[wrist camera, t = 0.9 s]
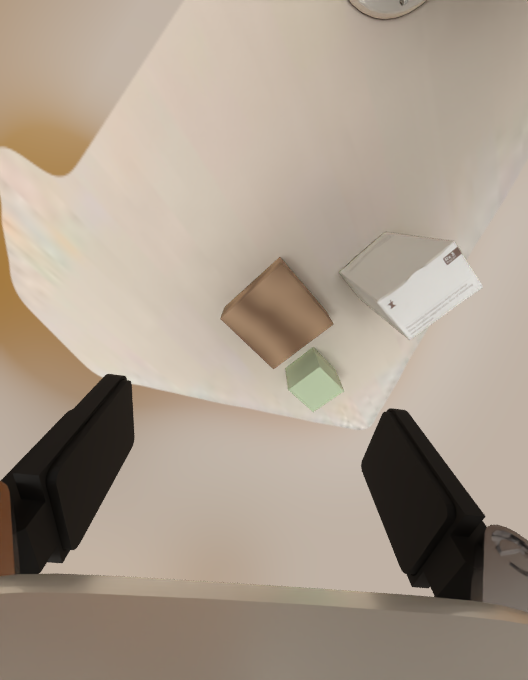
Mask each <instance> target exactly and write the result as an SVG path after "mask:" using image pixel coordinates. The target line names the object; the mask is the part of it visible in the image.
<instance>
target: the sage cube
mask: <svg viewBox="0 0 528 680" xmlns="http://www.w3.org/2000/svg"><path fill="white" fill-rule="evenodd" d="M285 369H286V377H287V385H288V390H289V391H290V392H291V393H292V394H293V395H294V396H296V397H297V398H298V399H299V400H300V401H301V402H302V403H303V404H305V405H306V406H307V407H308V408H309V409H310V410H311V411H312V412H314V411H316V410H317V409H319V408H320V407H322V406H323V405H325V404H326V403H328V402H329V401H330V400H332V399H333V398H335V397H336V396H338V395H339V394H341V393H342V392H344V389H343V387H342V385H341V382H340V380H339V378H338V375H337V373H336V371H335V369H334V368H333V367H332V366H331V365H330V364H329V363H328V362H327V361H326V360H325V359H324V358H323V357H322V356H321V355H320V354H319V353H318V352H317V351H316V350H315V349H314V348H311V349H310V350H309V351H307V352H306V353H305V354H303V355H302V356H301V357H300V358H298V359H297V360H296V361H294V362H293V363H292V364H290V365H289V366H288V367H287V368H285Z"/></svg>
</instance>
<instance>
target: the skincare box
mask: <svg viewBox="0 0 528 680" xmlns="http://www.w3.org/2000/svg"><path fill="white" fill-rule="evenodd" d="M339 273H340V275H341V276H342V277H343V279H344V280H345V281H346V282H347V283H348V285H349V286H350V287H351V288H352V290H353V291H354V292H355V293H356V294H357V296H358V297H359V298H360V299H361V300H362V301H363V302H364V303H365V304H366V305H368V306H369V307H370V308H371V309H372V310H374V311H375V312H376V313H377V314H378V315H380V316H381V317H382V318H383V319H384V320H386V321H387V322H388V323H389V324H390V325H392V326H393V327H394V328H395V329H396V330H398V331H399V332H400V333H401V334H402V335H404V336H405V337H406V338H408V339H409V340H411V339H412V338H413V337H415V336H416V335H418V334H419V333H420V332H422V331H423V330H424V329H426V328H427V327H428V326H430V325H431V324H433V323H434V322H435V321H437V320H438V319H439V318H441V317H442V316H444V315H445V314H446V313H448V312H449V311H451V310H452V309H453V308H455V307H456V306H457V305H459V304H460V303H462V302H463V301H464V300H466V299H467V298H469V297H470V296H471V295H473V294H474V293H475V292H477V291H478V290H480V289H481V288H482V287H483V286H482V284H481V283H480V281H479V279H478V278H477V276H476V275H475V273H474V272H473V270H472V269H471V267H470V265H469V264H468V262H467V260H466V259H465V257H464V256H463V254H462V253H461V251H460V249H459V247H458V246H457V244H456V242H455V241H450V240H442V239H434V238H426V237H419V236H412V235H404V234H396V233H389V232H385V233H383V234H382V235H381V236H380V237H379V238H377V239H376V240H375V241H374V242H373V243H372V244H371V245H369V246H368V247H367V248H366V249H365V250H364V251H362V252H361V253H360V254H359V255H358V256H357V257H356V258H354V259H353V260H352V261H351V262H350V263H349V264H348V265H347V266H346V267H345V268H343V269H342V270H341V271H340V272H339Z"/></svg>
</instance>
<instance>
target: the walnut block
mask: <svg viewBox="0 0 528 680" xmlns="http://www.w3.org/2000/svg"><path fill="white" fill-rule="evenodd" d="M220 319H221V320H222V321H223V322H224V323H225V324H226V325H227V326H229V327H230V328H231V329H232V330H233V331H234V332H235V333H236V334H237V335H238V336H239V337H240V338H241V339H242V340H243V341H244V342H245V343H246V344H247V345H249V346H250V347H251V348H252V349H253V350H254V351H255V352H256V353H257V354H258V355H259V356H260V357H261V358H262V359H263V360H264V361H265V362H266V363H267V364H268V365H270V366H271V367H272V368H273V369H274V368H276V367H277V366H278V365H280V364H281V363H282V362H284V361H285V360H286V359H288V358H289V357H290V356H292V355H293V354H294V353H296V352H297V351H298V350H300V349H301V348H302V347H304V346H305V345H306V344H308V343H309V342H310V341H312V340H313V339H314V338H316V337H317V336H318V335H320V334H321V333H322V332H324V331H325V330H327V329H328V328H329V327H331V326H332V325H333V322H332V320H331V319H330V317H329V315H328V313H327V312H326V310H325V309H324V308H323V307H322V306H321V305H320V303H319V302H318V301H317V300H316V299H315V298H314V296H313V295H312V294H311V293H310V292H309V290H308V289H307V288H306V287H305V286H304V285H303V283H302V282H301V281H300V280H299V279H298V278H297V276H296V275H295V274H294V273H293V272H292V271H291V269H290V268H289V267H288V266H287V265H286V263H285V262H284V261H283V260H282V259H281V258H280V257H279V258H278V259H277V260H276V261H275V262H274V263H273V264H272V265H270V266H269V267H268V268H267V269H266V270H265V271H264V272H263V273H262V274H261V275H259V276H258V277H257V278H256V279H255V280H254V281H253V282H252V283H251V284H250V285H248V286H247V287H246V288H245V289H244V290H243V291H242V292H241V293H240V294H239V295H237V296H236V297H235V298H234V299H233V300H232V301H231V302H230V303H229V304H228V305H226V306H225V308H224V310H223V313H222V316H221V318H220Z"/></svg>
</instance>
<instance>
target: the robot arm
mask: <svg viewBox="0 0 528 680" xmlns="http://www.w3.org/2000/svg"><path fill="white" fill-rule="evenodd" d="M349 1H350V2H351V3H352V4H353V5H354V6H355V7H356V8H357V9H359V10H360V11H361V12H362V13H365V14H367V15H369V16H371V17H375V18H382V19H388V18H396V17H399V16H402V15H404V14H407V13H409V12H411V11H413V10H414V9H416V8H417V7H419V6H420V5H422V4H423V3H424V2H425V1H426V0H349ZM400 2H401V3H402V5H401V4H400ZM133 443H134V421H133V403H132V385H131V381H128V380H127V378H126V377H125V376H121V375H113V374H107V375H105V376H104V377H103V378H102V379H101V381H99V383H98V384H97V385H96V386H95V387H94V388H93V389H92V390H91V391H90V392H89V393H88V394H87V395H86V396H85V397H84V398H83V399H82V401H81V402H80V403H79V404H78V405H77V406H76V407H75V408H74V409H72V410H70V411H68V412H67V413H66V414H65V415H64V416H63V417H62V418H61V419H60V420H59V421H58V422H57V423H56V424H55V425H54V426H53V427H52V428H51V430H49V431H48V433H46V435H45V436H44V437H43V438H42V439H41V440H40V441H39V442H38V443H37V444H36V445H35V446H34V447H33V448H32V449H31V450H30V451H29V452H28V453H27V454H26V455H25V456H24V457H23V458H22V459H21V460H20V461H19V462H18V463H17V465H15V467H14V468H13V469H12V470H11V471H10V472H9V473H8V474H7V475H6V476H5V477H4V478H3V479H2V480H1V481H0V680H528V540H526V539H525V538H524V537H522V536H520V535H519V534H518V533H516V532H515V531H513V530H511V529H508V528H507V527H503V526H500V525H490V526H488V527H486V525H485V524H484V522H483V521H482V520H483V519H484V518H485V515H484V514H483V512H482V511H481V510H480V509H479V507H478V506H477V504H476V503H475V502H474V500H473V499H472V498H471V496H470V495H469V494H468V492H467V491H466V490H465V488H464V487H463V486H462V484H461V483H460V482H459V480H458V479H457V478H456V476H455V475H454V474H453V472H452V471H451V470H450V468H449V467H448V465H447V464H446V463H445V462H444V460H443V459H442V457H441V456H440V455H439V453H438V452H437V451H436V449H435V448H434V447H433V445H432V444H431V443H430V441H429V440H428V439H427V437H426V436H425V434H424V433H423V432H422V430H421V429H420V428H419V426H418V425H417V424H416V422H415V421H414V420H413V418H412V417H411V416H410V414H409V413H408V412H407V411H405V410H399V409H388V410H387V412H384V413H383V414H382V416H381V418H380V421H379V423H378V425H377V427H376V430H375V432H374V435H373V437H372V439H371V441H370V444H369V446H368V448H367V451H366V453H365V455H364V458H363V460H362V464H361V467H362V472H363V475H364V477H365V480H366V482H367V485H368V487H369V490H370V492H371V495H372V498H373V500H374V503H375V505H376V508H377V510H378V513H379V515H380V517H381V520H382V523H383V525H384V528H385V530H386V533H387V535H388V538H389V540H390V543H391V545H392V548H393V550H394V553H395V556H396V558H397V561H398V563H399V566H400V567H401V570H402V571H403V572H404V573H405V574H407V576H408V579H409V581H410V583H411V586H412V587H420V588H421V587H422V588H429V587H431V589H432V591H433V593H434V597H426V596H414V595H401V594H387V593H372V592H358V591H344V590H331V589H315V588H301V587H286V586H271V585H256V584H240V583H224V582H208V581H190V580H175V579H158V578H141V577H125V576H101V575H100V576H99V575H76V574H75V575H74V574H39V573H40V572H41V571H42V569H43V567H44V566H45V564H46V563H47V562H52V563H63V561H64V560H65V558H66V556H67V554H68V553H69V551H70V550H74V549H76V548H77V547H78V545H79V544H80V542H81V540H82V538H83V537H84V535H85V533H86V531H87V529H88V527H89V526H90V524H91V522H92V520H93V518H94V516H95V515H96V513H97V511H98V509H99V507H100V505H101V503H102V502H103V500H104V498H105V496H106V494H107V492H108V491H109V489H110V487H111V485H112V483H113V481H114V480H115V478H116V476H117V474H118V472H119V470H120V468H121V466H122V465H123V463H124V461H125V459H126V458H127V456H128V454H129V452H130V450H131V448H132V446H133Z"/></svg>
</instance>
